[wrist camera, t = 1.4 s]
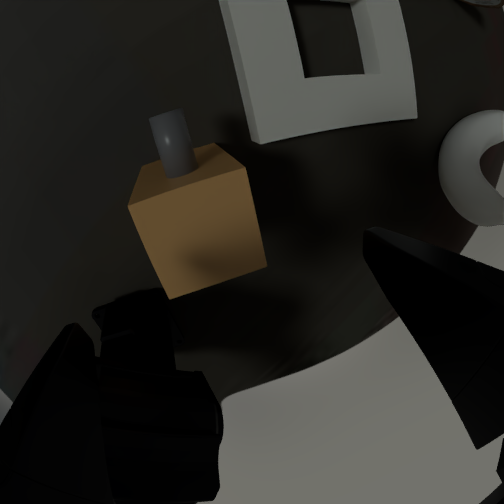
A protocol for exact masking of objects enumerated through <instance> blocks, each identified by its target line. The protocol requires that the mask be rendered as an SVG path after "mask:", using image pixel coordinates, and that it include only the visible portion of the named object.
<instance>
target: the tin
mask: <svg viewBox="0 0 504 504" xmlns="http://www.w3.org/2000/svg"><path fill="white" fill-rule="evenodd" d="M459 1H462V2H464V3H467V4H470V5H473V6H478V7H486V8H501V7H502V6H503V5H504V0H459Z"/></svg>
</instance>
